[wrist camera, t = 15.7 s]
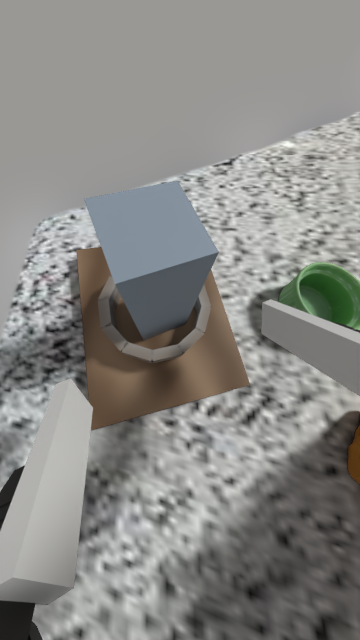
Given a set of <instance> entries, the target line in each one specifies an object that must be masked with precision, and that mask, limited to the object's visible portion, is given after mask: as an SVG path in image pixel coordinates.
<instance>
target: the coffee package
mask: <svg viewBox="0 0 360 640" xmlns="http://www.w3.org/2000/svg"><path fill="white" fill-rule="evenodd" d="M359 417H360V415H359ZM348 455H349V456H348V472H349V474H350V475H351V477H352V478H353V479H354V480H355V481H356V482H357V483H359V484H360V425H359V427H358V428H357V430H356V431H355V438H354V440H353V443H352V444H351V445H349V448H348Z"/></svg>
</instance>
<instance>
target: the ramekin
mask: <svg viewBox="0 0 360 640" xmlns="http://www.w3.org/2000/svg"><path fill="white" fill-rule="evenodd" d="M278 302H279V303H282V304H285V305H287V306H290V307H293V308H295V309H298V310H300V311H303V312H306V313H308V314H311V315H314V316H316V317H319V318H322V319H324V320H327V321H330V322H335V323H340V324H344V325H347V326H350V327H352V328H354V329H358V330H360V282H359V281H358V279H357V278H355V276H353V275H352V274H351V273H350V272H348V271H347V270H345V269H343V268H341V267H339V266H337V265H334V264H331V263H325V262H318V263H313V264H310V265H308V266H306V267H305V268H304V269H302V270H301V271H300V272H299V274H298V275H297V277H295V278H294V279H293V280H292V281H291V282H290V283H289V284H288V285H286V286H285V287H284V288H283V290H282V291H281V293H280V295H279V300H278Z"/></svg>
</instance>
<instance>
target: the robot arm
mask: <svg viewBox="0 0 360 640" xmlns="http://www.w3.org/2000/svg"><path fill="white" fill-rule="evenodd" d="M261 334H262V335H264V336H266V337H267V338H269V339H270V340H272V341H274V342H275V343H277V344H278V345H280V346H282V347H283V348H285V349H286V350H288V351H289V352H291V353H293V354H294V355H296V356H297V357H299V358H301V359H302V360H304V361H305V362H307V363H308V364H310V365H312V366H313V367H315V368H316V369H318V370H320V371H321V372H323V373H324V374H326V375H327V376H329V377H331V378H332V379H334V380H335V381H337V382H339V383H340V384H342V385H343V386H345V387H346V388H348V389H350V390H351V391H353V392H354V393H356V394H358V395H359V396H360V330H358V329H354V328H352V327H350V326H347V325H344V324H340V323H335V322H330V321H327V320H324V319H322V318H319V317H316V316H314V315H311V314H308V313H306V312H303V311H300V310H298V309H295V308H293V307H290V306H287V305H285V304H282V303H279V302H277V301H274V300H271V299H270V300H268V301H265V302H263V303H262V326H261ZM92 413H93V407H92V406H91V404H90V403H89V402H88V401H87V399H86V398H85V397H84V395H83V394H82V393H81V391H80V390H79V389H78V387H77V386H76V385H75V383H74V382H73V381H72V379H71V378H70V379H67V380H65V381H62V382H60V383H57V384H56V385H55V388H54V391H53V393H52V396H51V399H50V401H49V404H48V406H47V409H46V412H45V414H44V417H43V420H42V422H41V425H40V428H39V430H38V433H37V435H36V438H35V441H34V443H33V446H32V449H31V451H30V454H29V457H28V459H27V462H26V464H25V466H23V467H21V468H19V469H17V470H15V471H14V472H13V474H12V475H11V477H10V478H9V480H8V481H7V483H6V484H5V485H4V487H3V488H2V490H1V492H0V640H42V637H41V635H40V633H39V630H38V628H37V626H36V625H35V624H34V623H33V622H32V617H33V612H34V607H35V604H41V605H48V604H49V603H51V602H52V601H54V600H56V599H57V598H59V597H60V596H62V595H63V594H65V593H66V592H68V591H70V590H71V589H73V588H74V581H75V572H76V562H77V553H78V544H79V534H80V525H81V516H82V506H83V497H84V488H85V478H86V469H87V459H88V450H89V441H90V431H91V422H92Z"/></svg>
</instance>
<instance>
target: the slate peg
mask: <svg viewBox="0 0 360 640" xmlns="http://www.w3.org/2000/svg"><path fill="white" fill-rule="evenodd" d="M84 201H85V203H86V206H87V209H88V212H89V214H90V217H91V220H92V223H93V225H94V228H95V231H96V234H97V236H98V239H99V242H100V245H101V247H102V250H103V253H104V256H105V258H106V261H107V264H108V267H109V269H110V272H111V275H112V278H113V280H114V283H115V285H116V287H117V289H118V291H119V293H120V295H121V297H122V299H123V301H124V303H125V305H126V307H127V309H128V311H129V313H130V315H131V317H132V319H133V321H134V322H135V324H136V326H137V328H138V330H139V332H140V334H141V336H142V338H143V340H147V339H149V338H152V337H154V336H157V335H159V334H162V333H164V332H167V331H169V330H172V329H175V328H177V327H180V326H182V325H185V324H186V322H187V320H188V318H189V316H190V314H191V311H192V309H193V307H194V305H195V303H196V300H197V298H198V296H199V294H200V292H201V290H202V287H203V285H204V283H205V281H206V279H207V276H208V274H209V272H210V270H211V268H212V266H213V263H214V261H215V259H216V257H217V255H218V250H217V248H216V247H215V245H214V243H213V241H212V240H211V238H210V236H209V234H208V233H207V231H206V229H205V227H204V226H203V224H202V222H201V221H200V219H199V217H198V215H197V214H196V212H195V210H194V208H193V207H192V205H191V203H190V201H189V200H188V198H187V196H186V195H185V193H184V191H183V189H182V188H181V186H180V184H179V182H178V181H174V182H168V183H163V184H158V185H153V186H148V187H143V188H138V189H133V190H127V191H123V192H117V193H112V194H107V195H102V196H97V197H91V198H86V199H84Z"/></svg>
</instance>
